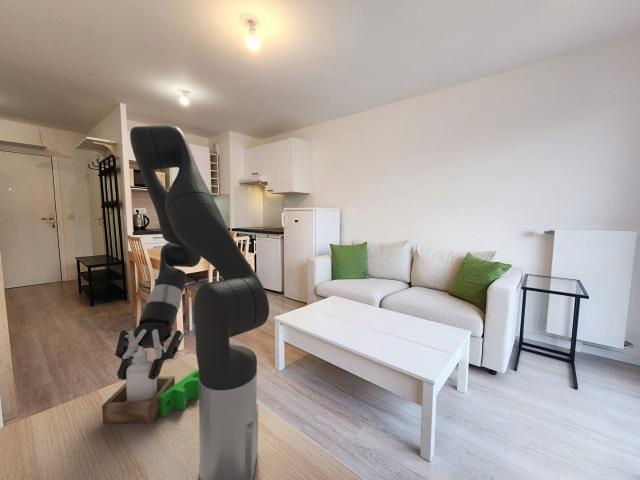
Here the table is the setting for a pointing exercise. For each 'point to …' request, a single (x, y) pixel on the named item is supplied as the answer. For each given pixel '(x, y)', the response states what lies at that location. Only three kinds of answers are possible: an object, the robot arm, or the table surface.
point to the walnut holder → (134, 405)
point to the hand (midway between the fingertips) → (136, 378)
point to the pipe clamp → (179, 394)
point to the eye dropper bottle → (140, 379)
